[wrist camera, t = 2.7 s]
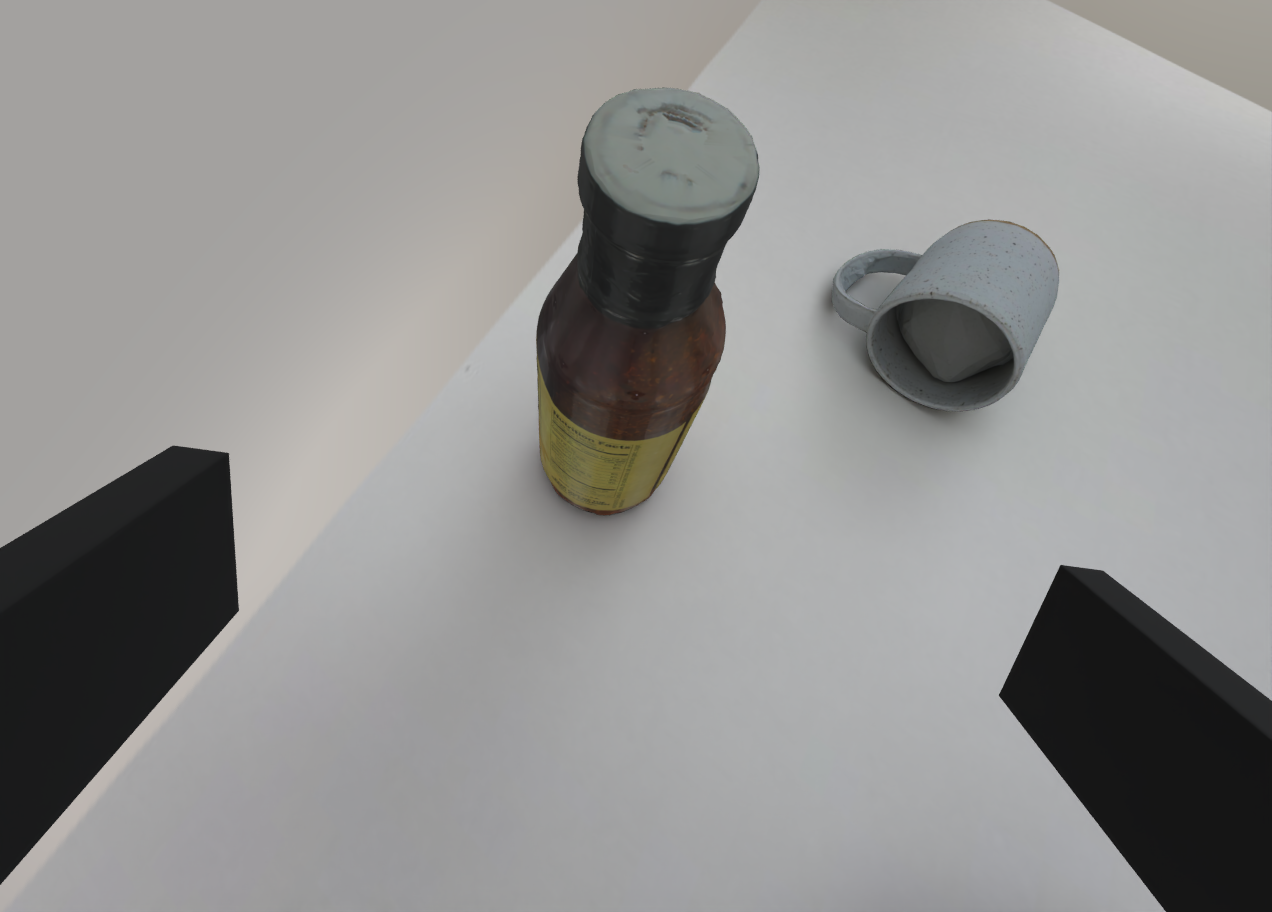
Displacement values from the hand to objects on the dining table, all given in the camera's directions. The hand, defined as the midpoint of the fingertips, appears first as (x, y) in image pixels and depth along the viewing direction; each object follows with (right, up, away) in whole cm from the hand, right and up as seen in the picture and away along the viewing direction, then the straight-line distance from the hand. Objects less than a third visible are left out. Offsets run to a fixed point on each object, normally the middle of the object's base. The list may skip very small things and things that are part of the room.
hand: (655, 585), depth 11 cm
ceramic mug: (+16, +9, +28) cm, 33 cm away
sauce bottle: (-2, +2, +22) cm, 23 cm away
